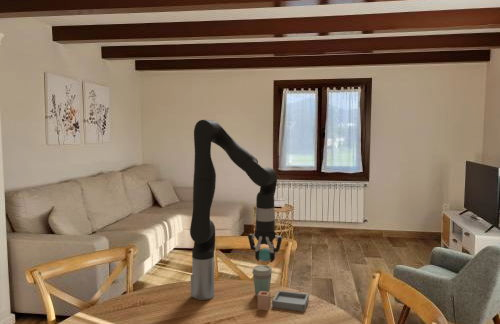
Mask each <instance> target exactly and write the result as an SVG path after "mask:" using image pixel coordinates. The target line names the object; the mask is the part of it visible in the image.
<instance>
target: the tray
mask: <svg viewBox="0 0 500 324" xmlns="http://www.w3.org/2000/svg"><path fill="white" fill-rule="evenodd" d="M309 296H310V293H303V292H294V291H288V290H287V291H285V290H277V292H276V294H275V296H274V297H273V299H272V300H271V301H272V302H271V304H272V305H271V307H272V308H274V309H283V310H290V311H298V312H305V311H306V308H307V306H308V304H309V299H310V297H309Z"/></svg>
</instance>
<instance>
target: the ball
mask: <svg viewBox="0 0 500 324" xmlns="http://www.w3.org/2000/svg"><path fill="white" fill-rule="evenodd" d="M259 250H260V252H259V258H260V260H261V261H262V262H268V261H270V253H271V251H270V248H269V249H268V248H267V247H266V248H260V249H259Z"/></svg>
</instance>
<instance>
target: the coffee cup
mask: <svg viewBox="0 0 500 324" xmlns="http://www.w3.org/2000/svg"><path fill="white" fill-rule="evenodd" d="M272 275H273V270H272V268H271V266H269V265H265V264H264V265H263V264H262V265H261V264H260V265H256V266H253V269H252V276H253V284H254V285H253V286H254V294H255V296H256V298H258V294H259V292H260V291H266V292H271V291H270V289H271V279H272Z"/></svg>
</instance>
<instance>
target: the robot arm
mask: <svg viewBox="0 0 500 324" xmlns="http://www.w3.org/2000/svg"><path fill="white" fill-rule="evenodd" d="M193 143H194V170H193V185H192V213H191V214H192V216H191V221H190V226H189V235H190V237H191V239H192V241H193V247H192V251H191V255H192V256H191V258H192V264H191V265H192V267H191V269H192V272H191V273H192V274H190V298H193V299H195V300H200V301H205V300H210V299H213V298H214V296H215V248H216V226H215V224H214V222H213V221H212V220H211V208H212V204H213V200H214V196H215V192H216V181H217V180H216V179H217V174H216V169H215V165H214V162H213V159H212V153H211V150H212V143H213V144H215V145H217V146H218V147H219V148H221V149H222V150H223V151H224V152H225V153H226V155H227V156H228V158H229V159H230V160H231V161H232V162H233V164H235V165H236V166H237V167H238V168H240V169H241V170H242V171H243V172H245V174H246V175H247V176H248V178H249V179H250V180H251V181H252V183H254V184H255V185H256V186H258V187H260V189H259V192H258V193H257V194H256V198H255V199H256V203H255V204H256V207H255V208H256V209H255V210H256V211H255V232H254V233H249V234H248V235H247V238H248V242H249V243H248V244H249V246H250V249H251V250H253V251H254V253H255V260H256V261H257V262H259V261H260V260H261V259H260V258H259V252H260V250H261V246H262V245H267V246H268V248H269V250H270V252H271V253H270V259H269V262H270V263H273V262H274V261H275V259H276V253H278V252H279V250H280V249H281V246H282V241H283V235H277V234H276V232H275V231H276V229H275V228H276V224H275V223H276V215H275V214H276V213H275V194H276V190H277V183H278V176H277V172H276V171H275V169H274V168H272V167H263V166H261V164H259V161H258V159H257V158H256V157H255V156H254V155H253V154H251V153H250V152H249V151H248V150H246V149H245V148H244V147H243V146H241V145H240V144H239V143H238V142H237V141H236V140H235V139H234V138H233V137H232V136H231V135H230V134H229V133H228V132H227V131H226V130H225V128H223V127H222V125H221V124H220V123H219V122H218V121H215V120H212V119H200V120H198V121H197V122H196V123H195V125H194V128H193ZM255 238H256V240H257V243H256V244H255ZM274 239H275V240H276V242H277V243H276V246H275V244H274Z"/></svg>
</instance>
